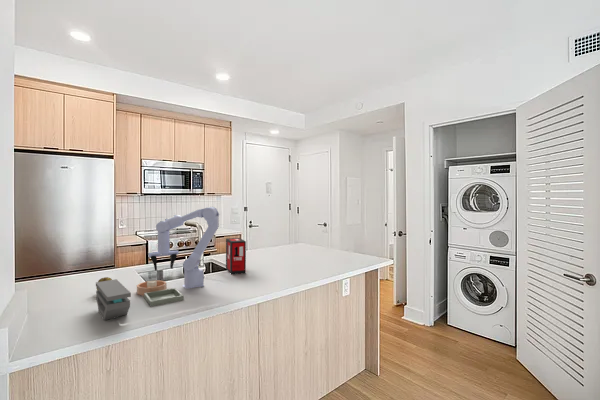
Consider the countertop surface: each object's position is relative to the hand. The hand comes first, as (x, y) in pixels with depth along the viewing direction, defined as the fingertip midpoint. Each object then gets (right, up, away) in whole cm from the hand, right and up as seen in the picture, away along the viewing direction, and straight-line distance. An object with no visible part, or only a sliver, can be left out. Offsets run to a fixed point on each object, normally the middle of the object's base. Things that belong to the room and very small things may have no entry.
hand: (163, 269), depth 163 cm
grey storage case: (-5, -10, -36) cm, 38 cm away
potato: (-22, -10, -14) cm, 28 cm away
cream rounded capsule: (-2, -9, -9) cm, 13 cm away
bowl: (-2, -10, -9) cm, 13 cm away
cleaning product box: (+31, -9, +36) cm, 48 cm away
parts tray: (+9, -10, -20) cm, 24 cm away
